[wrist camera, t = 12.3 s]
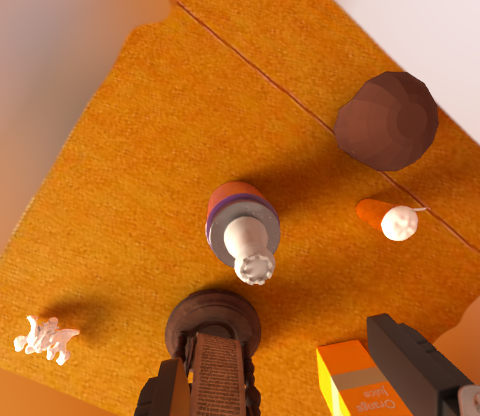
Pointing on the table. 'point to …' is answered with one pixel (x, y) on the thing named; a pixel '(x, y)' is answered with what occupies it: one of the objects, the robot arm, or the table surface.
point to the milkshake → (389, 218)
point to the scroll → (217, 351)
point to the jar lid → (237, 210)
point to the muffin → (388, 122)
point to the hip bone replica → (46, 339)
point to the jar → (230, 193)
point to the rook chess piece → (249, 250)
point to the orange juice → (355, 383)
